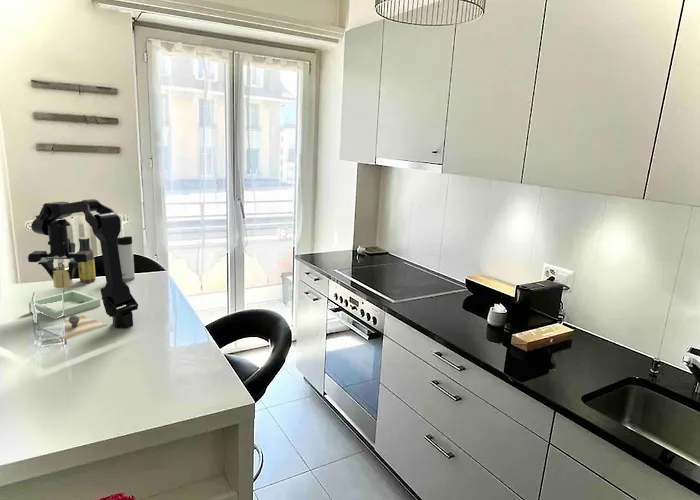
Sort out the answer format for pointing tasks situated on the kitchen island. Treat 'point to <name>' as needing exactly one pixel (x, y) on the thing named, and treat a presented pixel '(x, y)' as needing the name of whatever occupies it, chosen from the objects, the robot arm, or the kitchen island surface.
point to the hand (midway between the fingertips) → (62, 279)
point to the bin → (67, 303)
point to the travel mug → (126, 257)
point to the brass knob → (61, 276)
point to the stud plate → (80, 326)
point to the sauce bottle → (86, 267)
